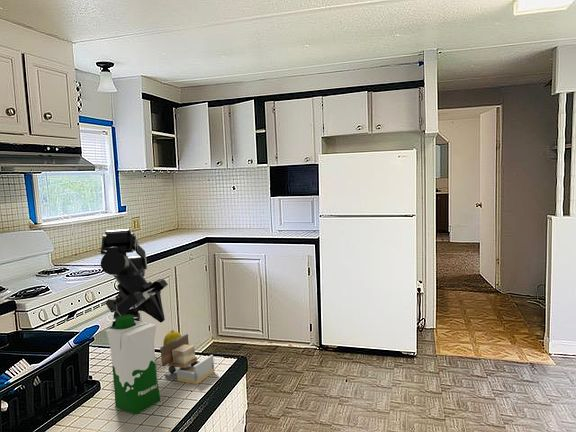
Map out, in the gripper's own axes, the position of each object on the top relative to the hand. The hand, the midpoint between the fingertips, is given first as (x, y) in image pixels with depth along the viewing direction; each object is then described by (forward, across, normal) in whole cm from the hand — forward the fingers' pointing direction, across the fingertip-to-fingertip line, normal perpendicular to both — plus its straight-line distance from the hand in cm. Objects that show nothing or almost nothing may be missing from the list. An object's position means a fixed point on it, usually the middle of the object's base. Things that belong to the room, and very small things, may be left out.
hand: (163, 321), depth 118 cm
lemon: (+10, -9, -9) cm, 16 cm away
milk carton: (+12, +17, -7) cm, 22 cm away
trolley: (+13, +2, -3) cm, 14 cm away
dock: (+15, +2, -2) cm, 16 cm away
